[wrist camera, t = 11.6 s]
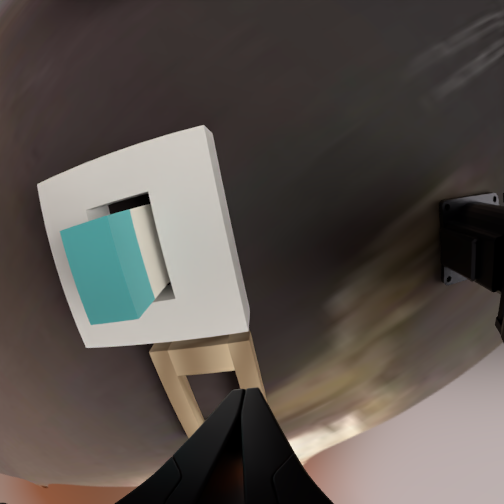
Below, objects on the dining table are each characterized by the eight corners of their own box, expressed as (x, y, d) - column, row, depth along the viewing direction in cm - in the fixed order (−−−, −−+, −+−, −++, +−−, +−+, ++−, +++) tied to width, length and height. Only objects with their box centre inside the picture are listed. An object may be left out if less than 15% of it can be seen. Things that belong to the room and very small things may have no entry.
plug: (157, 202, 19) (106, 215, 12) (176, 273, 20) (138, 319, 13) (119, 213, 19) (59, 230, 12) (138, 281, 20) (90, 325, 13)
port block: (212, 133, 18) (203, 125, 15) (249, 310, 20) (248, 331, 17) (61, 182, 18) (36, 184, 15) (103, 329, 21) (86, 347, 18)
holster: (250, 329, 21) (249, 340, 19) (274, 430, 23) (274, 441, 22) (155, 342, 21) (148, 352, 20) (196, 436, 24) (193, 447, 22)
